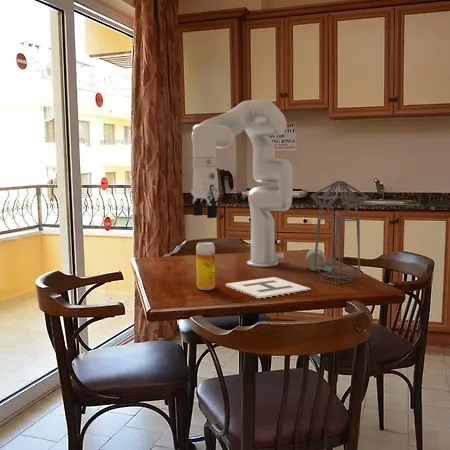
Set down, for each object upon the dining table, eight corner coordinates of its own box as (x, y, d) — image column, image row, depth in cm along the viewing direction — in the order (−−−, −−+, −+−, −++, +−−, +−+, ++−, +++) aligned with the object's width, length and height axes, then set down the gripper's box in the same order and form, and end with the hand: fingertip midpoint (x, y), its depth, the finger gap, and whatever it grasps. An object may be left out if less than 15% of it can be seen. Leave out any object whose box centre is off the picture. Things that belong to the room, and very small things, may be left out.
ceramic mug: (305, 271, 199) (306, 251, 198) (305, 267, 207) (306, 248, 206) (333, 272, 198) (334, 252, 197) (333, 268, 206) (333, 249, 205)
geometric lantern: (305, 279, 186) (307, 180, 183) (338, 275, 194) (341, 180, 191) (335, 287, 173) (338, 180, 170) (370, 283, 181) (373, 180, 178)
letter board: (274, 279, 187) (274, 276, 186) (310, 290, 169) (310, 288, 169) (225, 286, 177) (225, 283, 176) (259, 299, 159) (259, 296, 159)
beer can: (212, 290, 170) (212, 244, 169) (194, 289, 172) (194, 244, 170) (216, 286, 176) (216, 242, 175) (199, 285, 178) (198, 241, 176)
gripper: (228, 163, 163) (228, 218, 165) (202, 163, 178) (202, 214, 180) (207, 163, 160) (207, 219, 162) (182, 163, 175) (182, 215, 176)
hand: (204, 216), depth 171 cm, fingers open, 9 cm apart
